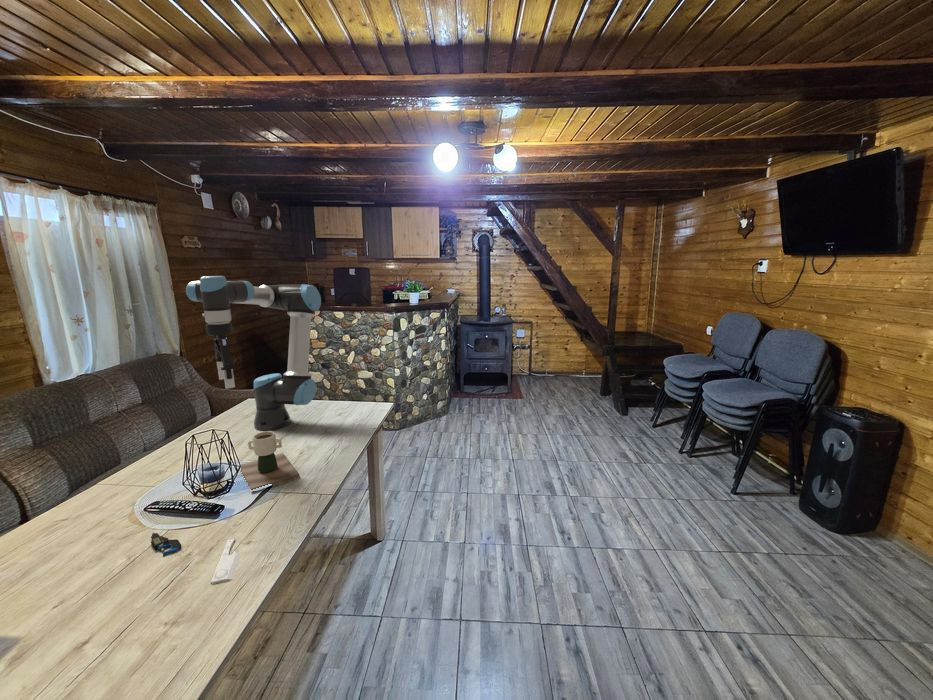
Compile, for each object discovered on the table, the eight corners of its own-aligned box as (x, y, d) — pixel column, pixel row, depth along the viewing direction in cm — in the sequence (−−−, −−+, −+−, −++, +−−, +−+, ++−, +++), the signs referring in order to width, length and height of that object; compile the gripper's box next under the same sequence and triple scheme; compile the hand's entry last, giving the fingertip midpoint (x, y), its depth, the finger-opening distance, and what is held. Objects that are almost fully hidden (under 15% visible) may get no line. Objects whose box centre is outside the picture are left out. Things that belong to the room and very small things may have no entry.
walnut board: (239, 468, 144) (238, 465, 143) (283, 456, 153) (283, 452, 152) (251, 493, 128) (250, 488, 128) (299, 477, 137) (299, 473, 137)
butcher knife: (249, 539, 107) (249, 535, 107) (235, 580, 93) (234, 576, 93) (228, 542, 106) (227, 538, 106) (210, 585, 92) (209, 581, 92)
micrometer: (182, 544, 103) (158, 554, 99) (183, 550, 103) (159, 561, 100) (169, 524, 111) (146, 533, 107) (170, 530, 111) (148, 539, 107)
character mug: (287, 463, 144) (283, 430, 142) (281, 473, 137) (277, 438, 135) (255, 465, 143) (251, 431, 140) (247, 475, 136) (242, 440, 133)
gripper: (201, 319, 141) (209, 377, 146) (210, 328, 122) (220, 394, 127) (225, 318, 146) (232, 373, 150) (238, 325, 127) (246, 389, 131)
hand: (226, 383), depth 138 cm, fingers open, 13 cm apart
